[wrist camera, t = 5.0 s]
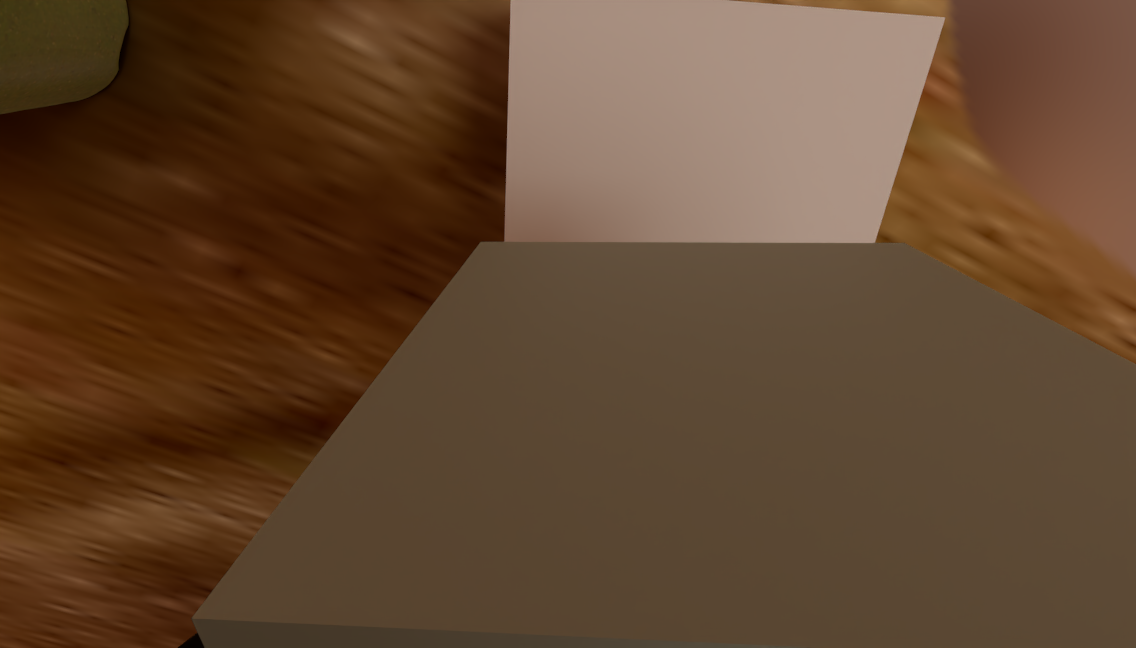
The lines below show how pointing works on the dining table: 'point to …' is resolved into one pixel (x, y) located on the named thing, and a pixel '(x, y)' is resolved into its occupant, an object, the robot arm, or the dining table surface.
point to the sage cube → (710, 465)
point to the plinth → (707, 120)
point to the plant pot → (58, 50)
